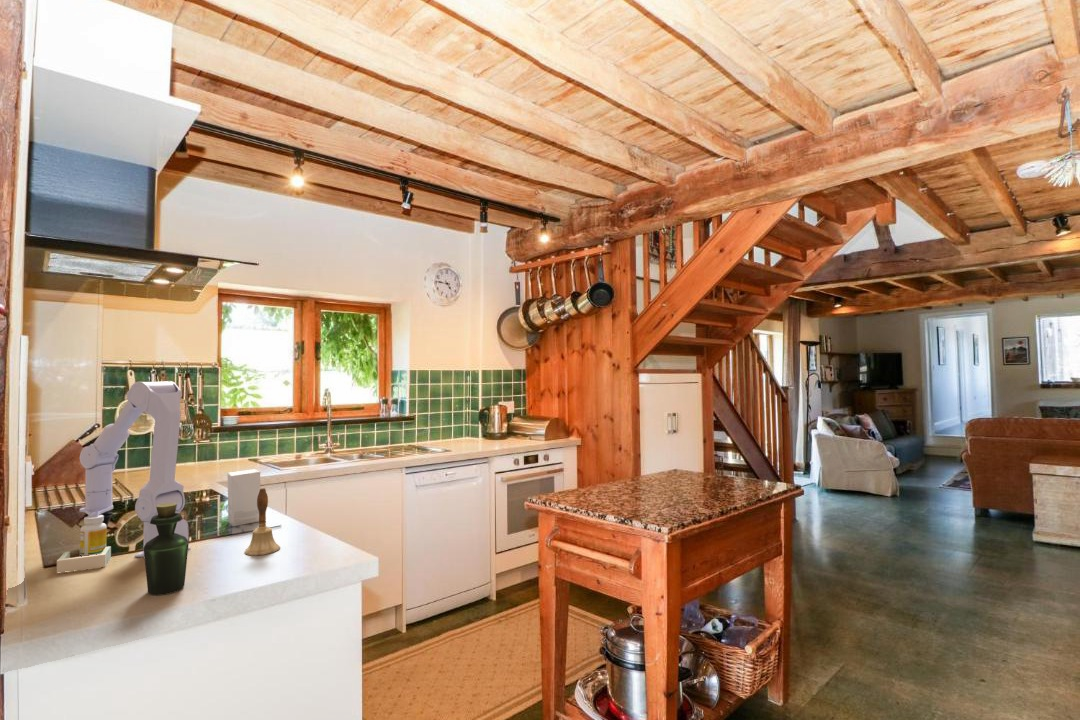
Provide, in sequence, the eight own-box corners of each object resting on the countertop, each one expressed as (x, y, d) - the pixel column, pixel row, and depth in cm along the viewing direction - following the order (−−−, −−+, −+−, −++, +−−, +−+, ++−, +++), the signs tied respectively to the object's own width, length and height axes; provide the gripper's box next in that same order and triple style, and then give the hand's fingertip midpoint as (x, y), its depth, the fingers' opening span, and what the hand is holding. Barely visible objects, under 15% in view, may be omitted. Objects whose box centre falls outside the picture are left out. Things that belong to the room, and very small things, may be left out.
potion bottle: (194, 588, 122) (194, 504, 122) (149, 600, 116) (149, 511, 116) (181, 579, 127) (182, 498, 127) (138, 590, 121) (138, 505, 121)
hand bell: (240, 550, 148) (240, 488, 148) (274, 543, 153) (274, 484, 154) (249, 558, 142) (248, 493, 142) (284, 551, 147) (284, 489, 147)
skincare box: (256, 517, 181) (256, 468, 181) (261, 522, 176) (261, 471, 176) (226, 522, 175) (226, 471, 176) (231, 527, 170) (231, 474, 170)
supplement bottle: (74, 558, 142) (74, 519, 143) (89, 551, 148) (89, 514, 148) (97, 557, 143) (97, 519, 143) (111, 550, 148) (111, 513, 148)
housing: (64, 564, 138) (64, 551, 138) (110, 558, 142) (110, 546, 142) (56, 573, 131) (56, 560, 131) (105, 567, 136) (105, 554, 136)
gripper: (85, 487, 156) (85, 537, 156) (73, 497, 143) (73, 551, 143) (117, 484, 160) (117, 533, 159) (108, 494, 147) (108, 547, 147)
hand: (98, 541), depth 151 cm, fingers closed
